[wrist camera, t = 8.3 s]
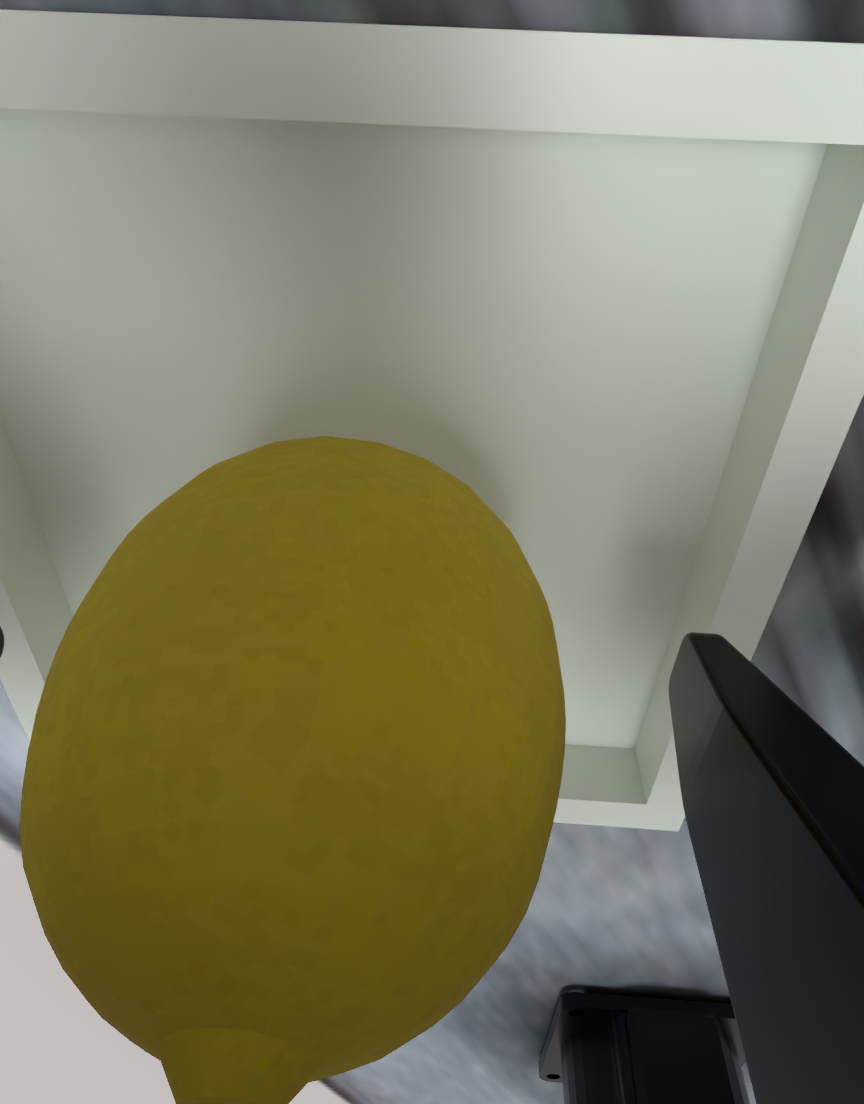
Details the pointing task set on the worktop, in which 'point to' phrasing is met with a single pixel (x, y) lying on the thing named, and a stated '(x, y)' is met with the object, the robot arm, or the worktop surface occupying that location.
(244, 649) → the lemon
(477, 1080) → the worktop surface
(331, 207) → the tray
